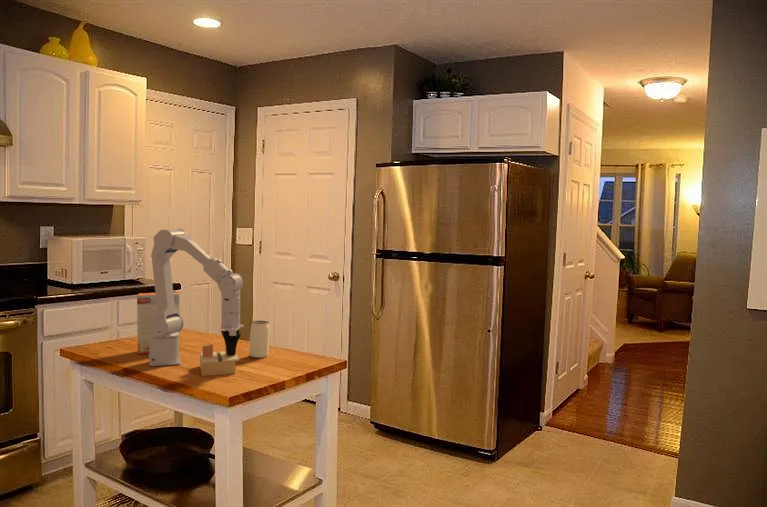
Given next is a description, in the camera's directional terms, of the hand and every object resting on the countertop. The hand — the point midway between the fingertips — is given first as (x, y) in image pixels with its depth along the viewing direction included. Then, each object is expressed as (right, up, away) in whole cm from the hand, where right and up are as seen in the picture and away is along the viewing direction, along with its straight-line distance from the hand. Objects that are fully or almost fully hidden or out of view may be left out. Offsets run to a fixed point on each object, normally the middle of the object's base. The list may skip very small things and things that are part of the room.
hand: (230, 353), depth 194 cm
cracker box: (-31, -3, +21) cm, 38 cm away
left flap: (-6, -1, -2) cm, 7 cm away
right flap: (-1, -1, 0) cm, 1 cm away
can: (+5, -4, +18) cm, 19 cm away
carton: (-4, -5, -1) cm, 6 cm away
